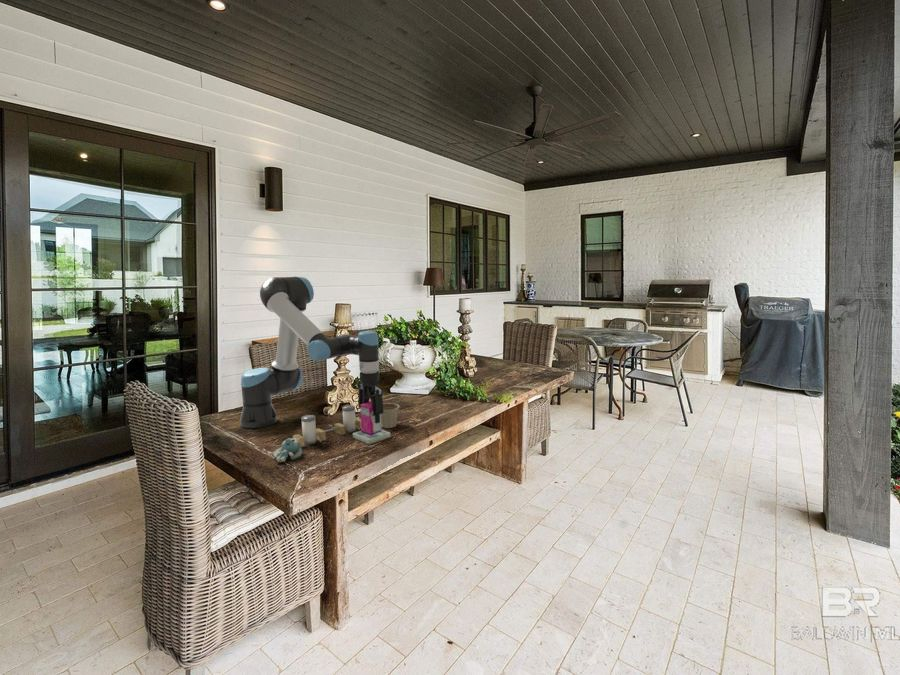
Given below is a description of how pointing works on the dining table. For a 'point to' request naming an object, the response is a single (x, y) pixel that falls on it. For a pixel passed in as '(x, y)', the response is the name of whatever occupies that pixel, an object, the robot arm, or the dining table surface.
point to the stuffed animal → (288, 450)
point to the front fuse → (309, 429)
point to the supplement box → (368, 419)
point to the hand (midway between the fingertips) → (371, 428)
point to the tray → (371, 436)
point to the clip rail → (321, 433)
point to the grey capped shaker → (349, 418)
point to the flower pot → (389, 415)
